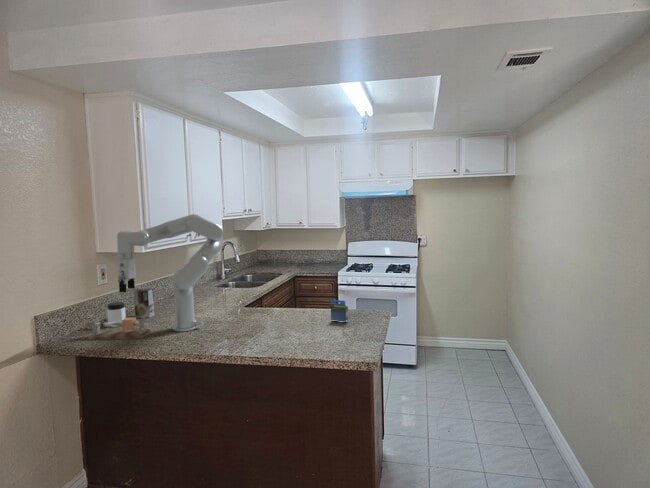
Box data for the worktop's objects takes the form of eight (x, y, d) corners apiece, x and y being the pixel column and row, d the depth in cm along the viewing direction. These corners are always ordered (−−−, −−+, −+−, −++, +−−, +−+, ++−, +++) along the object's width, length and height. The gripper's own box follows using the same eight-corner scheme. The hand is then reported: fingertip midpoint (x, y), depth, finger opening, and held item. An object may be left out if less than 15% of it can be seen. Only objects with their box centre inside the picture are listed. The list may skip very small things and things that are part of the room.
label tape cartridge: (348, 321, 229) (348, 299, 228) (345, 323, 226) (345, 300, 225) (333, 320, 233) (333, 298, 232) (330, 321, 229) (330, 299, 228)
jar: (105, 325, 230) (103, 304, 229) (118, 322, 237) (117, 301, 236) (115, 327, 226) (114, 306, 225) (129, 324, 233) (127, 302, 232)
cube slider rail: (149, 331, 217) (148, 315, 216) (142, 337, 207) (141, 321, 206) (94, 333, 215) (93, 317, 215) (84, 340, 205) (83, 323, 205)
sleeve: (136, 327, 214) (136, 317, 213) (132, 329, 209) (132, 319, 208) (126, 327, 214) (126, 317, 213) (122, 330, 209) (121, 320, 208)
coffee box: (155, 315, 252) (153, 288, 250) (149, 318, 245) (148, 290, 244) (140, 315, 253) (139, 288, 251) (134, 317, 246) (133, 290, 245)
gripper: (126, 258, 201) (127, 293, 202) (140, 254, 218) (141, 287, 219) (110, 258, 201) (111, 293, 202) (125, 254, 218) (126, 287, 219)
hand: (127, 290), depth 211 cm, fingers open, 9 cm apart
